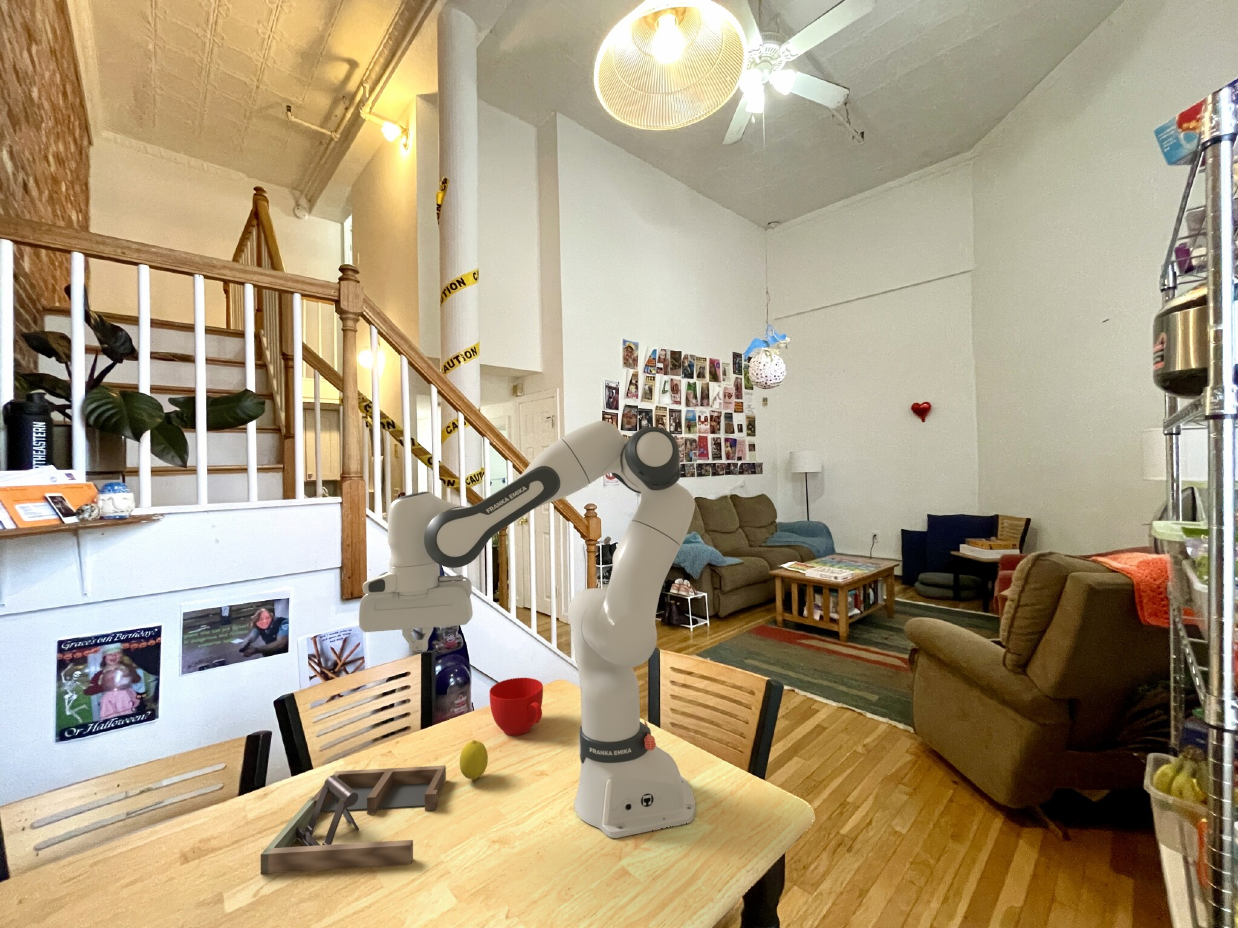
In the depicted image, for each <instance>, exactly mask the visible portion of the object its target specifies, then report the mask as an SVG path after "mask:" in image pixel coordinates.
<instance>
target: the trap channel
mask: <svg viewBox="0 0 1238 928" xmlns="http://www.w3.org/2000/svg"><path fill="white" fill-rule="evenodd" d="M446 772H447V765H429V766H428V765H427V766H409V767H392V768H389V767H388V768H373V769H372V768H371V769H356V770H355V769H354V770H353V769H352V770H336V771H335V772H334V773H332V775H335V776H336V777H337V778H339V779H340V780H341V781H342V782H344V783H345V784H346V785H347V786H349V787H367V786H375V787H374V788H373V790H372V791H371V793H370V794H369V795H368V797H367V810H366V814H367V815H374V814H377V812H378V810H379V809H378V807H379V806H380V804H381V803H382V801H383V799H384V798H385V796H386V795H387V793H388V792H389V790H390V789H391V787H392V785H404V784H422V783H430V785H429V787H428V789H427V791H426V793H425V807H424V811H425V812H427V811H437V808H438V806H439V805H438V803H439V801H438V798H439V796H440V794H441V791H442V790H443V787H444V785H445V784H446V780H447V773H446ZM322 788H323V786H322V787H320V789H319V790H318V791H317V793H316V794H315V795H314V796H310V797H309V798H308V800H307V801H306V802H305V803H304V804H303V805H302V806H301V808H299V810H298V811H297V812H296V813H295V814H294V815H293V817H292V818H290V820H289V821H288V823H286V825H285V826H284V827H283V828H282V829H281V830H280V831H279V833H278V834H277V835H276V836H275V837H274V838H273V839H272V841H271V842H270V843H269V844H268V845H267V846H266V847H265V849H264V850H263V851H262V852H261V853H260V874H273V873H275V874H276V873H290V872H291V873H292V872H307V871H308V872H309V871H321V870H322V871H323V870H338V869H342V870H343V869H352V868H353V869H356V868H370V867H371V868H372V867H373V868H374V867H385V866H386V867H387V866H401V865H411V864H412V861H414V840H413V839H405V840H389V841H388V840H387V841H372V842H369V841H368V842H358V843H357V842H354V843H341V844H338V843H337V844H335V843H334V844H331V845H322V844H320V845H318V846H304V845H303V846H302V845H301V846H292V845H293V844H294V842H296V840H298V838H297V837H296V829H297V827H298V826H299V827H300V828H301V829H302V830H306V827H307V826H308V824H309V822H310V819H311V816H312V814H313V811H314V809H315V806H316V803H317V801H318V798H319V796H320V793H321V790H322ZM331 798H332V794H331V793H329V794H328V795H327V797H326V799H325V802H324V805H323V807H324V806H325V805H326V804H327V802H328V801H329V800H330V799H331ZM323 807H322V809H323ZM320 814H321V812H320Z"/></svg>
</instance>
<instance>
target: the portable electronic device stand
mask: <svg viewBox="0 0 1238 928" xmlns="http://www.w3.org/2000/svg"><path fill="white" fill-rule="evenodd" d="M322 787H323V788H322ZM322 787H321V788H322V790H321V793H320V796H319V798H318V801H317V803H316V806H315V809H314V811H313V814H312V816H311V819H310V822H309V824H308V825H307V827H306V828H305V829H304V830H302V829H301V828H300V827H299V826H298V827H297V829H296V837H297V840H298V841H300V842H301V844H302V845H303V846H318V845H333V844H332V843H333V841H334V838H335V835H336V833H337V830H338V827H339V823H340V822H341V819H342V815H343V817H344V819H345V820H346V821H347V823H348V824H351V825H352V826H353V828H354V829H355V831H357V832H359V831H360V828H359V827H358V825H357V823H356V821H355V819H354V817H353V815H352V813H351V811H349V810H348V808H347V807H351V806H353V805H354V804H355V803H356V802H357V800H358V794H357V793H356V792H355V791H354V790H352V789H351V788H350V787H349V786H347V785H346V784H345V783H344V782H342V781H341V780H340V779H339V778H337V777H336V776H335V775H333V774H332V775H329V776H328V777H327V778H326V779H325V781H324V783H323V786H322ZM329 793H331V794H332V796H333V798H334V800H335V801H336V803H337V805H338V806H337V808H336V811H335V812H334V814H333V816H332V820H331V822H330V826H329V827H328V830H327V833H326V836H325V839H324V840H323V842H322V844H321V843H320V842H319V841H318V840H316V838H315V837H314V836H313V833H314V831H315V829H316V825H317V822H318V820H319V817H320V815H321V813H320V812H321V810H322V807H323V805H324V802H325V799H326V797H327V795H328V794H329Z"/></svg>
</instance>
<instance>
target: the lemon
mask: <svg viewBox="0 0 1238 928" xmlns="http://www.w3.org/2000/svg"><path fill="white" fill-rule="evenodd" d="M488 760H489V758H488V751H487V748H486V746H485V744H484V743H483V742H481V741H479V740H476V739H472V740H471V741H469V742H467V744H465V746H463V747H462V750H461V752H460V756H459V769H460V772H461V774H462V775H463V777H465V778H466V779H469V780H471V781H476V780H477V779H478V778H480V777H481V776H482V775H483V774H484V772H486V769H487V766H488V762H489V761H488Z"/></svg>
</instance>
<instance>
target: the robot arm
mask: <svg viewBox="0 0 1238 928" xmlns="http://www.w3.org/2000/svg"><path fill="white" fill-rule="evenodd" d="M680 455H681V454H680V447H679V443H678V441H677V440H676V438H675V437H674V435H673V434H672V433H671V432H670V431H668V430H667V429H665V428H662V427H659V426H647V427H644V428H641V429H639V430H637V431H636V432H635V433H633V434H632V435H631V436H630V438H628V437H625V436H624V435H623V434H622V433H621V431H620V430H619V429H618V428H617V426H616V425H614V424H613V423H612V422H609V421H606V420H598V421H595V422H592V423H590V424H586V425H584V426H582V427H579V428H577V429H575V430H573V431H572V432H570V433H567V434H565V435H564V436H562V437H561V438H559V439H557V440H556V441H554V442H552V443H551V444H550V445H548V446H547V447H546V448H545V449H544V450H542V451H541V452H540V453H539V454H538V455H537V456H536V457H535V458H533V460H532V461H531V462H530V463H529V465H528V466H527V468H525V470H524V471H522V473H521V474H520V475H519V476H518V477H516V478H515V479H514V480H513V481H512V482H510V483H508V484H507V485H506V486H504V487H502V488H501V489H499V490H497V491H495V492H494V493H492V494H491V495H489V496H487V497H486V498H484V499H483V500H482V501H479V502H477V503H476V504H473V505H471V506H465V505H459V504H456V503H453V502H450V501H447V500H444V499H443V498H441V497H438V496H436V495H435V494H433V493H432V492H430V491H420V492H415V493H410V494H406V495H402V496H398V497H397V498H396V499H394V500H393V501H392V502H391V504H390V505H389V509H388V514H387V542H388V546H389V549H390V559H389V563H388V565H389V566H388V567H389V570H388V571H386V572H383V573H380V574H378V575H377V576H374V577H372V578H369V579H368V580H366V581H365V582H364V583H363V584H362V592H363V593H364V594H365V595H363V596H362V598H361V599H360V602H359V610H358V627H359V628H360V630H361V631H362V632H363V633H373V632H385V631H386V632H388V631H398V630H399V631H400V630H401V631H402V633H401V634H402V637H403V639H404V640H405V641H406V642H407V644H408V646H409V647H408V649H409V653H417V652H418V653H419V652H427V650H428V648H429V638H430V637H431V635H432V633H433V631H434V628H441V627H453V626H454V627H455V626H464V625H465V626H466V625H467V624H468V623H469V622H470V621H471V620H472V618H473V612H474V611H473V605H472V600H471V596H472V592H473V587H472V586H473V585H472V582H471V580H470V579H469V578H468V577H466V576H464V575H463V574H456V575H441V574H440V572H441V570H440V568H441V567H440V566H442V567H444V568H445V567H446V568H448V569H449V568H450V569H451V568H452V569H456V568H462V567H465V566H467V565H470V564H472V562H474V561H475V560H476V559H477V558H478V557H479V556H480V554H481V552H482V551H483V550H484V548H485V547H486V545H487V544H488V542H489V541H490V540H491V539H492V538H493V537H494V536H495V535H496V534H498V533H499V532H500V531H502V530H503V529H505V528H507V527H508V526H509V525H511V524H513V523H514V522H516V521H517V520H520V518H522V517H523V516H526V514H528V513H530V512H531V511H533V510H535V509H536V508H539V507H542V506H544V505H546V504H550V503H552V502H556V501H559V500H560V499H563V498H566V497H569V496H570V495H573V494H575V493H576V492H579V491H581V490H582V489H584V488H586V487H587V486H589V485H590V484H592V483H593V482H595V481H596V480H598V479H600V478H601V477H604V476H606V475H608V474H611V475H612V477H614V478H615V479H617V480H618V481H619V482H620V483H622V485H623V486H625V487H626V488H627V489H628V490H630V491H632V492H633V493H636V494H640V495H641V498H640V502H639V505H638V507H637V510H636V511H635V514H634V515H633V517H632V519H631V520H630V522H629V524H628V526H627V527H626V530H625V532H624V533H623V536H622V537H621V539H620V541H619V543H618V544H617V547H616V549H615V551H614V552H613V555H612V570H611V575H610V577H609V581H608V585H607V588H606V589H605V588H601V587H600V588H597V587H595V588H594V587H593V588H585V589H582V590H581V591H580V590H579V592H578V593H576V594H575V595H574V596H573V597H572V598H571V600H570V602H569V605H568V609H567V618H568V622H569V626H570V630H571V633H572V634H571V635H572V639H573V641H572V642H573V649H574V655H575V660H576V667H577V671H578V678H579V685H580V703H581V704H580V706H581V707H580V709H581V710H580V712H581V713H580V714H581V716H580V717H581V724H580V726H579V734H578V755H579V760H580V771H579V779H578V781H579V782H578V786H577V792H576V796H575V799H574V804H573V805H574V809H575V812H576V814H577V816H578V817H579V818H580V819H581V820H582V821H583V822H585V823H586V824H589V825H591V826H593V827H595V828H598V829H600V830H601V832H603V834H605V835H606V836H607V837H609V838H611V839H618V838H623V837H627V836H632V835H637V834H638V835H639V834H642V833H646V832H647V833H648V832H652V830H653V831H657V830H662V829H661V828H663V829H667V828H666V827H668V828H672V826H673V827H676V826H681V824H682V825H686V823H687V824H690V823H691V822H693V820H694V818H695V815H696V800H695V795H694V793H693V790H692V787H691V785H690V784H689V782H688V781H687V780H686V779H685V778H684V777H683V776H682V775H681V773H680V770H679V767H678V766H677V763H676V761H675V759H674V758H673V757H672V755H671V754H670V753H668V752H666V751H665V750H664V749H662V748H660V747H659V746H657V744H656V739H655V737H654V736H653V735H652V732H651V728H650V727H649V725H648V723H647V722H646V720H644V723H643V722H641V721H640V720H641V715H640V713H641V712H640V705H641V703H640V685H639V680H638V677H637V675H636V673H635V670H634V668H635V667H639V666H641V665H642V664H645V662H647V661H648V660H649V659H650V657H652V655H653V653H654V651H655V649H656V646H657V642H658V632H657V631H658V630H657V627H656V626H657V625H656V617H657V616H656V615H657V610H658V604H659V601H660V599H659V598H660V595H661V592H662V589H663V585H664V583H665V580H666V578H667V575H668V573H669V572H670V569H671V567H672V565H673V563H674V560H675V559H676V557H677V555H678V552H679V551H680V549H681V546H682V545H683V543H684V541H685V539H686V536H687V534H688V532H689V528H690V526H691V522H692V520H693V518H694V517H693V516H694V512H695V510H696V502H695V498H694V496H693V495H692V494H691V492H690V491H689V490H688V489H687V488H686V487H684V486H683V485H681V484H679V483H678V481H679V480H680V478H681V459H680ZM415 629H422V630H421V632H422V634H424V636H423V638H422V639H416V638H415V636H414V635H413V632H414V630H415ZM670 826H671V827H670Z"/></svg>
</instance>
